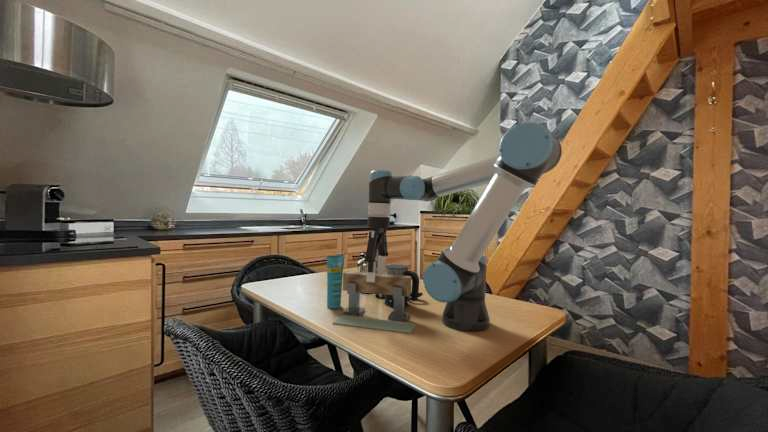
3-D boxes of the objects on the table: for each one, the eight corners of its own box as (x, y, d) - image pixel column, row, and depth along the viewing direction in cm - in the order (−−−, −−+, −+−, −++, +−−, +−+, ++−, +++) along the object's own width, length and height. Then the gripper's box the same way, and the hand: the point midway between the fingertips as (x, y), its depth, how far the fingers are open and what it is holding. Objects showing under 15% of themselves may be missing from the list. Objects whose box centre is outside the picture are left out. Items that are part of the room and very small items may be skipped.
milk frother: (381, 306, 127) (382, 266, 127) (390, 295, 143) (391, 260, 142) (418, 310, 124) (420, 269, 124) (424, 299, 139) (425, 263, 139)
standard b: (364, 310, 120) (365, 280, 120) (359, 316, 114) (360, 284, 114) (348, 309, 122) (349, 278, 122) (342, 314, 116) (343, 282, 115)
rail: (410, 293, 115) (411, 276, 115) (408, 296, 111) (409, 278, 111) (346, 287, 121) (347, 271, 121) (342, 290, 117) (343, 273, 117)
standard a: (409, 315, 117) (410, 284, 116) (405, 321, 110) (406, 288, 110) (392, 313, 118) (393, 282, 118) (387, 319, 112) (388, 286, 112)
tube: (329, 310, 120) (331, 256, 120) (321, 307, 123) (323, 254, 123) (346, 306, 125) (347, 254, 125) (338, 303, 129) (339, 253, 128)
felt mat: (415, 324, 108) (415, 323, 108) (411, 333, 100) (411, 332, 100) (341, 316, 114) (341, 314, 114) (332, 323, 106) (332, 322, 106)
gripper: (377, 214, 128) (375, 270, 129) (356, 216, 104) (353, 284, 105) (397, 215, 127) (394, 272, 127) (380, 217, 102) (377, 286, 103)
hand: (376, 277), depth 116 cm, fingers open, 13 cm apart
